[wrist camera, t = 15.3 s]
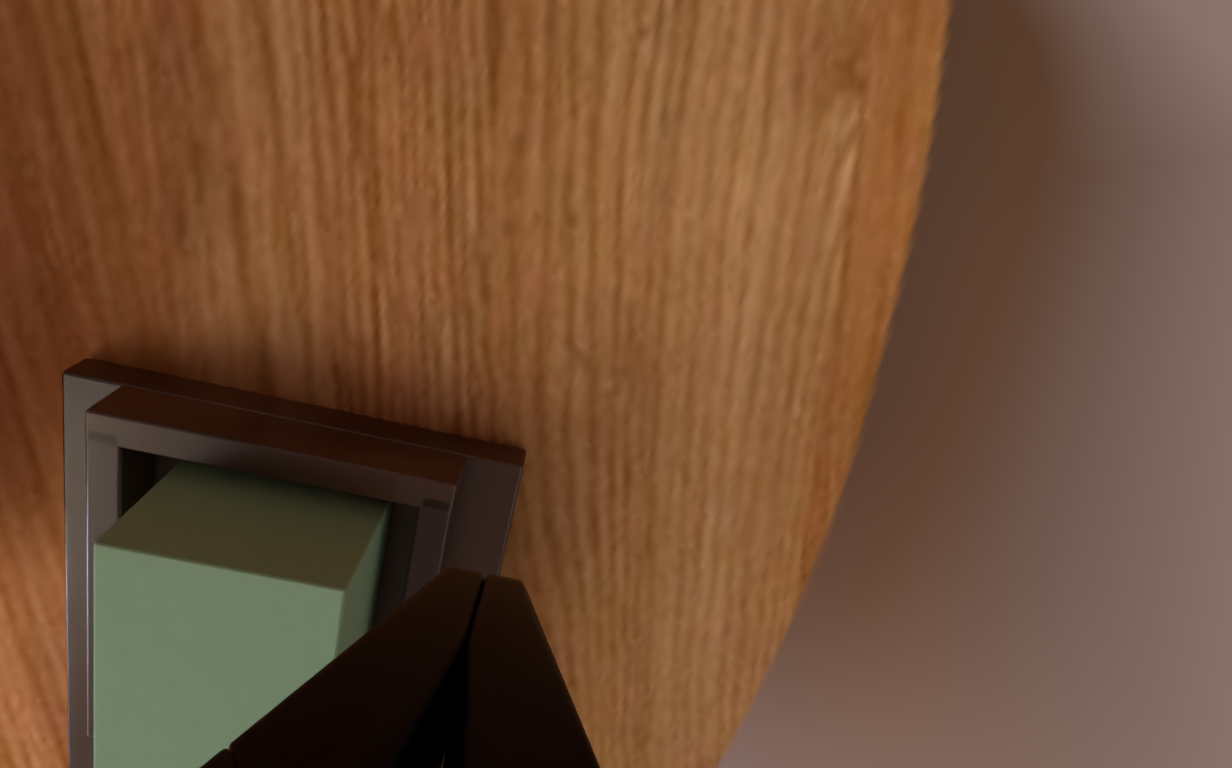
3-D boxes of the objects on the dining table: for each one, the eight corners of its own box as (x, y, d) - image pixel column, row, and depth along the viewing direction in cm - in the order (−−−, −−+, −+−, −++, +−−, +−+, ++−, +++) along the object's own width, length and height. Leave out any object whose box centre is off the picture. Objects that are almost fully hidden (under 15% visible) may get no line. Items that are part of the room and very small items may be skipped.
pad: (394, 492, 20) (346, 590, 16) (360, 704, 22) (313, 831, 19) (189, 450, 19) (91, 542, 16) (178, 672, 22) (91, 797, 18)
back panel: (527, 448, 21) (504, 560, 16) (430, 883, 27) (393, 1056, 22) (86, 356, 20) (-76, 447, 15) (88, 831, 26) (-27, 1001, 21)
